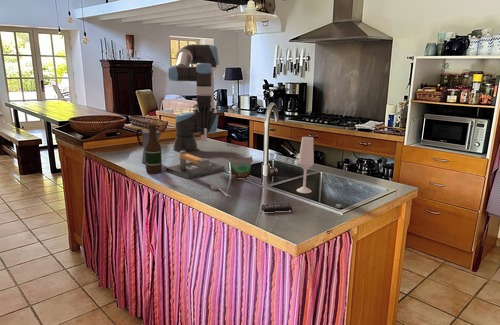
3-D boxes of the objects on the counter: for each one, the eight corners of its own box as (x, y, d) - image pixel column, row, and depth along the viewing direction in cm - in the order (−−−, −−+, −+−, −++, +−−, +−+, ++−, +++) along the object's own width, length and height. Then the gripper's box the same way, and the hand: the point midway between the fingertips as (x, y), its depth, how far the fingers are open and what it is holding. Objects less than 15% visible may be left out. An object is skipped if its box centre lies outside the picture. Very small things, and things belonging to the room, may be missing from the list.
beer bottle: (165, 170, 190) (163, 124, 184) (156, 174, 183) (154, 126, 177) (151, 169, 193) (150, 123, 186) (143, 173, 185) (140, 125, 179)
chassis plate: (202, 163, 207) (202, 158, 206) (224, 169, 195) (224, 165, 194) (165, 171, 189) (165, 166, 189) (188, 179, 178) (188, 174, 177)
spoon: (216, 186, 169) (216, 183, 169) (239, 201, 152) (239, 197, 152) (208, 188, 167) (208, 184, 167) (230, 202, 150) (230, 198, 150)
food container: (234, 180, 177) (234, 160, 174) (228, 177, 182) (229, 157, 180) (256, 178, 183) (257, 158, 180) (251, 174, 188) (251, 155, 185)
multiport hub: (291, 212, 141) (292, 207, 141) (264, 214, 139) (264, 208, 138) (288, 208, 146) (288, 203, 145) (261, 210, 143) (261, 204, 143)
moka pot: (158, 165, 200) (157, 128, 195) (132, 163, 203) (130, 126, 198) (166, 161, 209) (165, 125, 204) (140, 159, 212) (139, 124, 207)
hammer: (209, 176, 174) (209, 158, 172) (200, 178, 171) (200, 159, 169) (185, 167, 188) (185, 150, 186) (177, 169, 185) (177, 151, 183)
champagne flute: (296, 192, 163) (299, 138, 157) (296, 187, 170) (300, 135, 164) (311, 193, 162) (315, 139, 156) (311, 188, 169) (315, 136, 163)
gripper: (208, 93, 194) (208, 138, 200) (189, 94, 185) (189, 141, 191) (218, 94, 189) (218, 140, 196) (198, 96, 180) (199, 143, 186)
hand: (204, 140), depth 193 cm, fingers closed
